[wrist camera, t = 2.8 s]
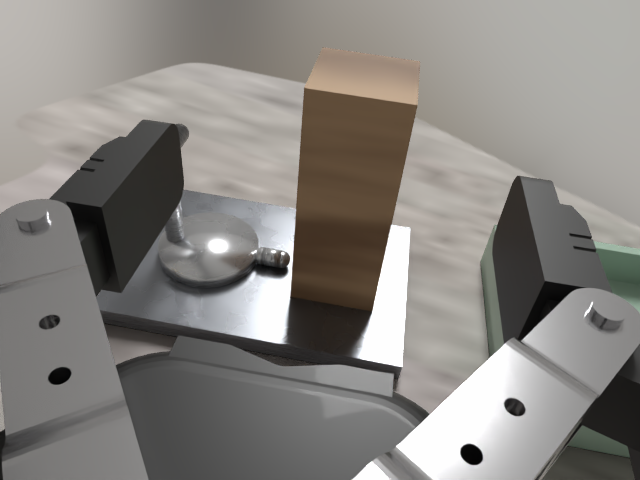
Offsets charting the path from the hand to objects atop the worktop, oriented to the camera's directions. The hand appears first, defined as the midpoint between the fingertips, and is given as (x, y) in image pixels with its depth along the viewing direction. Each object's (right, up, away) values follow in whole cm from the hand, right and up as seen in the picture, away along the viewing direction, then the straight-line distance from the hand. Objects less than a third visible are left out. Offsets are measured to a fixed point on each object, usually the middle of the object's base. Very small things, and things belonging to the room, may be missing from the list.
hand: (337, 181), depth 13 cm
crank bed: (-4, -3, +19) cm, 19 cm away
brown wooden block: (+1, -3, +18) cm, 18 cm away
